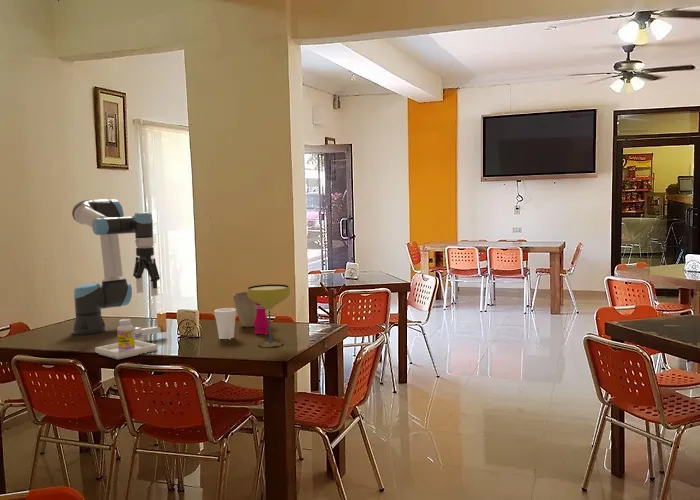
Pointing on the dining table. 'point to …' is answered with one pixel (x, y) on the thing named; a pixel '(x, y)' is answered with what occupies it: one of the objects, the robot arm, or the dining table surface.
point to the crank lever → (152, 330)
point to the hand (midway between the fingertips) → (147, 294)
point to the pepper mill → (261, 320)
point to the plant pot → (245, 309)
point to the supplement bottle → (125, 335)
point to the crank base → (141, 338)
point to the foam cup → (225, 322)
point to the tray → (115, 353)
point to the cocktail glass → (268, 298)
